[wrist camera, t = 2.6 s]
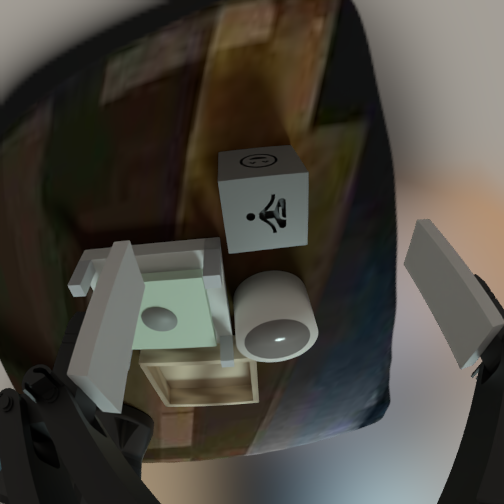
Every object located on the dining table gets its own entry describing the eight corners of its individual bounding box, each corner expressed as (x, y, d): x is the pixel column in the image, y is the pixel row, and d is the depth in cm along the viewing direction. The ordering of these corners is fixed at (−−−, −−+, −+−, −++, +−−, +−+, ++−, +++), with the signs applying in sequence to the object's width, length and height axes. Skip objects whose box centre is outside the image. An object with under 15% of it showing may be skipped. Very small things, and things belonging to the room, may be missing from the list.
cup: (236, 324, 31) (239, 365, 27) (230, 274, 27) (232, 318, 23) (303, 317, 32) (313, 357, 28) (309, 266, 27) (323, 309, 23)
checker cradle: (125, 335, 32) (118, 369, 28) (84, 250, 24) (67, 285, 21) (232, 330, 32) (234, 366, 29) (219, 237, 25) (220, 274, 21)
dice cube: (292, 206, 24) (307, 244, 20) (227, 213, 24) (229, 253, 20) (290, 144, 21) (308, 172, 17) (218, 151, 20) (217, 181, 17)
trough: (167, 387, 39) (166, 406, 37) (142, 339, 32) (138, 362, 30) (256, 382, 40) (258, 402, 37) (253, 333, 33) (256, 357, 30)
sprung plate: (130, 341, 29) (128, 350, 28) (98, 276, 24) (95, 285, 23) (216, 338, 30) (216, 347, 29) (202, 268, 24) (202, 278, 23)
